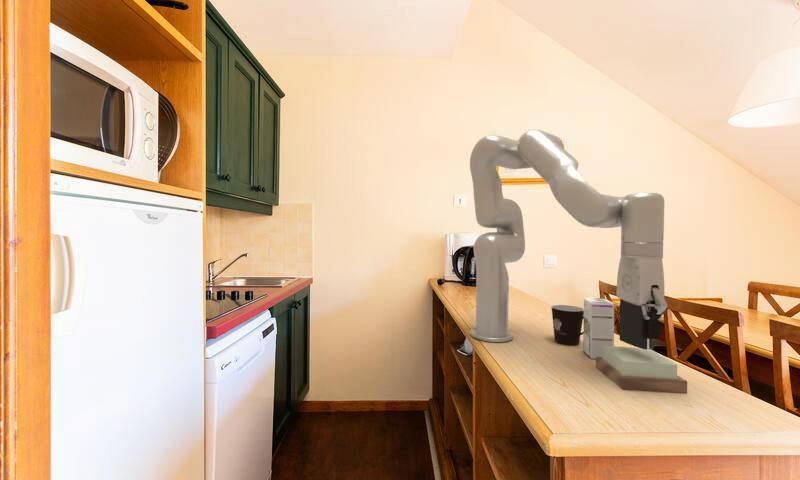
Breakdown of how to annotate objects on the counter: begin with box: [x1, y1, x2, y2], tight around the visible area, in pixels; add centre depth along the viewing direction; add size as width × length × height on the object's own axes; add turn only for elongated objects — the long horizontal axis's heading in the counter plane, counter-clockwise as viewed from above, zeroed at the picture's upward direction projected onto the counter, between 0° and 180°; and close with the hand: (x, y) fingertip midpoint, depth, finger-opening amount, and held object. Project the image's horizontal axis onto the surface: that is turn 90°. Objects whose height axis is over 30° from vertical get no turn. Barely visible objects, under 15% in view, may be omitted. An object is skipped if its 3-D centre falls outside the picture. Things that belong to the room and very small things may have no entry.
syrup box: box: [582, 297, 615, 360], centre depth 90 cm, size 6×6×14 cm
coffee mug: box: [551, 304, 584, 347], centre depth 99 cm, size 12×9×10 cm
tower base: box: [595, 357, 688, 394], centre depth 76 cm, size 12×12×3 cm
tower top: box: [602, 345, 678, 380], centre depth 75 cm, size 10×10×3 cm
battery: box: [618, 299, 655, 350], centre depth 75 cm, size 7×4×11 cm, turn 11°
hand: (639, 332), depth 75 cm, fingers closed on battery, 6 cm apart
